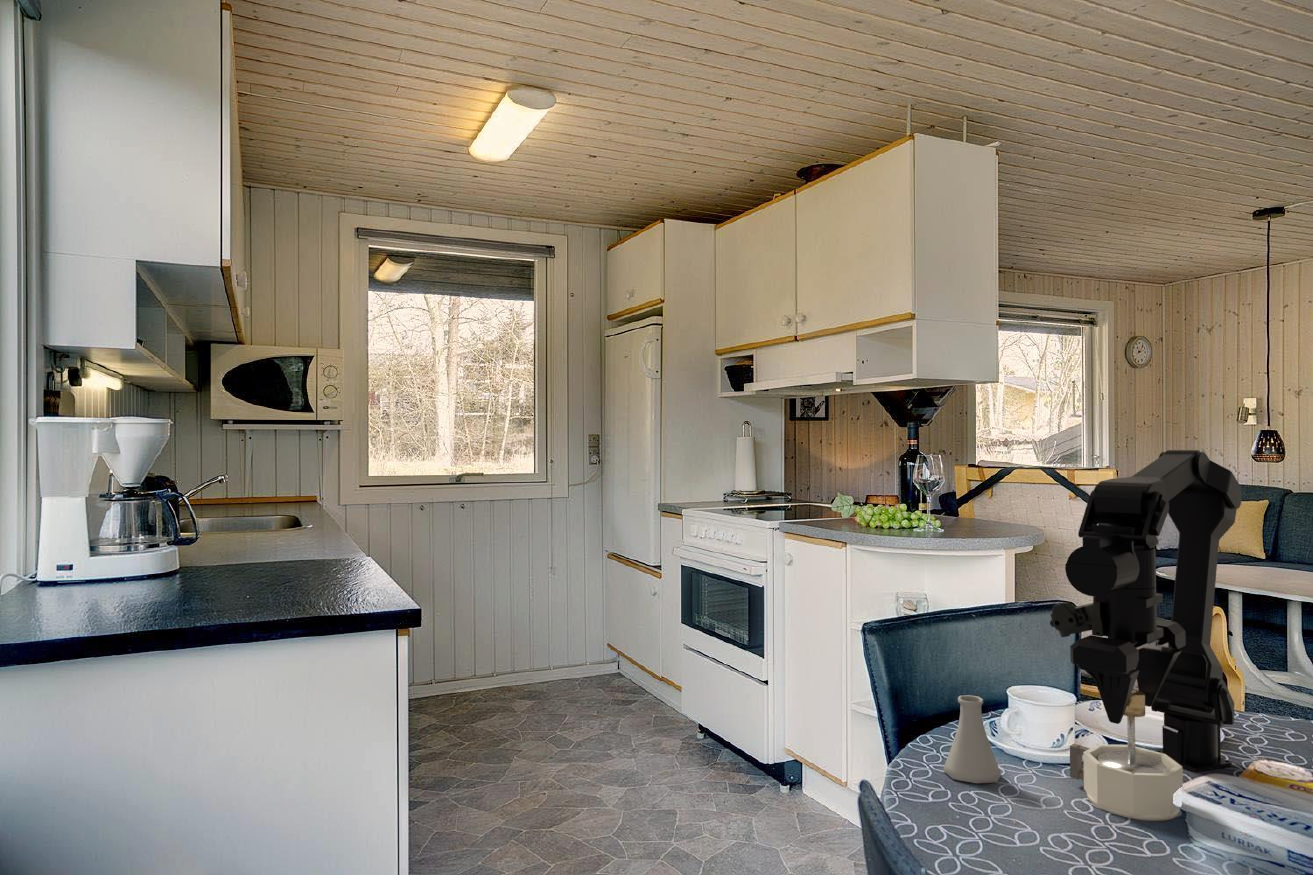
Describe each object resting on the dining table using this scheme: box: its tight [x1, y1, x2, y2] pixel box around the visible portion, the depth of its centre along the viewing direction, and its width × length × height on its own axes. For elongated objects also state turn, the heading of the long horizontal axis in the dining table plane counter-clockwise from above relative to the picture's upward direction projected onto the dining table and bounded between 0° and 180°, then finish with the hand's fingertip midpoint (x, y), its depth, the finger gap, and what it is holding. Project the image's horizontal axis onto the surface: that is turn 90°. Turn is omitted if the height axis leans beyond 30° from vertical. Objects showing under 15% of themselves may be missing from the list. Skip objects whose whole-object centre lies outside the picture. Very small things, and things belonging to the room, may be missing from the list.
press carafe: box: [1069, 743, 1184, 822], centre depth 101 cm, size 10×12×5 cm
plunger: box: [1098, 689, 1167, 774], centre depth 101 cm, size 7×7×9 cm
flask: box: [942, 694, 1002, 784], centre depth 110 cm, size 7×7×10 cm
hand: (1131, 713), depth 101 cm, fingers open, 9 cm apart
